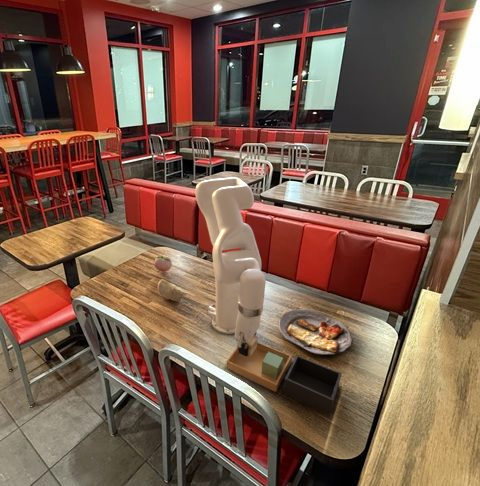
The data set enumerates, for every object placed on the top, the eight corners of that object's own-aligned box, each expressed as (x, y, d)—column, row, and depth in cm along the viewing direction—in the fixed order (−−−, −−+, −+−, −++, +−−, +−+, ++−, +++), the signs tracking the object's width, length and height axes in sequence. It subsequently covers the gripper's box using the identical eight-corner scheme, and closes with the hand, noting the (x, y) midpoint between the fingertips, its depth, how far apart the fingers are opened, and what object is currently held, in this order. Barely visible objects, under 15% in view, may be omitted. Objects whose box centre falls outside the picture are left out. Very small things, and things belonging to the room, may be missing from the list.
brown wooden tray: (226, 368, 104) (226, 361, 102) (244, 343, 114) (244, 336, 112) (275, 392, 95) (276, 385, 93) (290, 363, 105) (291, 355, 103)
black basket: (282, 393, 94) (284, 378, 91) (294, 369, 102) (296, 354, 100) (329, 416, 87) (333, 400, 84) (338, 388, 95) (341, 373, 92)
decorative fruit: (174, 268, 166) (173, 252, 162) (169, 276, 159) (168, 259, 155) (158, 266, 169) (157, 250, 165) (152, 274, 162) (151, 257, 158)
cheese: (157, 293, 149) (149, 290, 135) (164, 279, 150) (157, 275, 136) (185, 308, 145) (179, 307, 131) (192, 294, 146) (187, 291, 132)
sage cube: (261, 372, 101) (262, 361, 99) (267, 362, 105) (268, 351, 103) (276, 379, 98) (277, 368, 96) (281, 369, 102) (283, 357, 100)
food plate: (360, 333, 116) (362, 326, 114) (335, 370, 101) (337, 362, 100) (297, 306, 132) (297, 299, 131) (267, 334, 118) (268, 327, 116)
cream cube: (236, 350, 105) (237, 339, 103) (243, 341, 109) (244, 330, 106) (250, 357, 103) (251, 346, 100) (256, 347, 106) (257, 336, 104)
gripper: (250, 289, 105) (247, 329, 114) (226, 317, 93) (225, 360, 102) (272, 296, 101) (267, 338, 110) (249, 327, 89) (246, 371, 98)
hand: (246, 348), depth 105 cm, fingers closed on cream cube, 5 cm apart
